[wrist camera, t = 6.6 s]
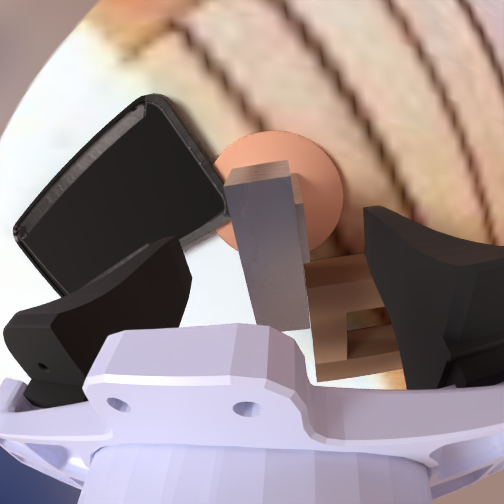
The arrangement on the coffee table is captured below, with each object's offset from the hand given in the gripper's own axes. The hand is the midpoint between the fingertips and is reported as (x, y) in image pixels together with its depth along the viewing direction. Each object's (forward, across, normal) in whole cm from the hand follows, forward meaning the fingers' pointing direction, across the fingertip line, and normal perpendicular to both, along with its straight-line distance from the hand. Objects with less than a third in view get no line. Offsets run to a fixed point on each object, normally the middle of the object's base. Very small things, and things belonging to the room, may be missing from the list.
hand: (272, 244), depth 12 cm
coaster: (+5, 0, 0) cm, 5 cm away
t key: (+4, 0, 0) cm, 4 cm away
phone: (+5, +10, -1) cm, 11 cm away
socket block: (+5, -5, +8) cm, 11 cm away
